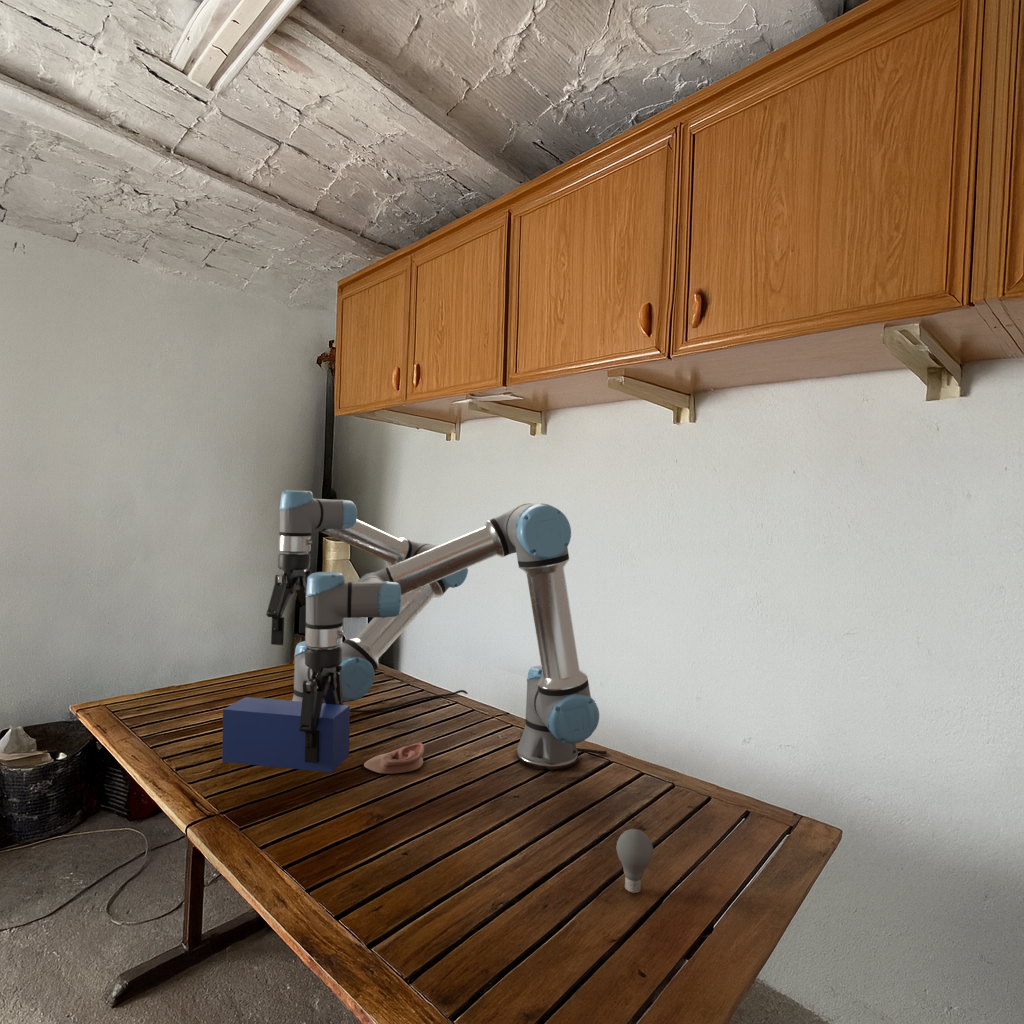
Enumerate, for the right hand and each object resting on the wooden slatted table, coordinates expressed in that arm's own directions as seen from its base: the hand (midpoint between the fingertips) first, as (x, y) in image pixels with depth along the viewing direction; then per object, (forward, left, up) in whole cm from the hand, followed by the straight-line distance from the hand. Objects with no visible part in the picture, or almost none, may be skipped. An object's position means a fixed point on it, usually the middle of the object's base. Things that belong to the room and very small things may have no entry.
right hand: (321, 752), depth 133 cm
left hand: (+3, -28, +18) cm, 34 cm away
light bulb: (-41, +53, -9) cm, 68 cm away
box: (+6, -5, -2) cm, 8 cm away
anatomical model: (-19, -10, -9) cm, 23 cm away
